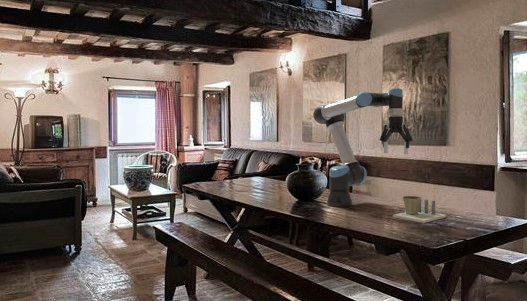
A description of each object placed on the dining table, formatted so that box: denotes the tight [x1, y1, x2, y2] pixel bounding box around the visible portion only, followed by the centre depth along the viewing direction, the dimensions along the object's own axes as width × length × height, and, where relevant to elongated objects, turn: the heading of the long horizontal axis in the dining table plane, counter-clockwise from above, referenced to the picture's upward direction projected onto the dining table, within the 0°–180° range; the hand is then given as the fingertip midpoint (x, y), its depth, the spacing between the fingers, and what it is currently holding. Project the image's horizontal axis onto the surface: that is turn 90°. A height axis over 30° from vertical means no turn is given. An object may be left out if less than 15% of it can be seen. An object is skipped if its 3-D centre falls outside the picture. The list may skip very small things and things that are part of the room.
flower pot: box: [401, 195, 422, 215], centre depth 226 cm, size 9×9×9 cm
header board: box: [392, 198, 447, 224], centre depth 223 cm, size 18×20×8 cm
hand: (395, 153), depth 245 cm, fingers open, 13 cm apart
